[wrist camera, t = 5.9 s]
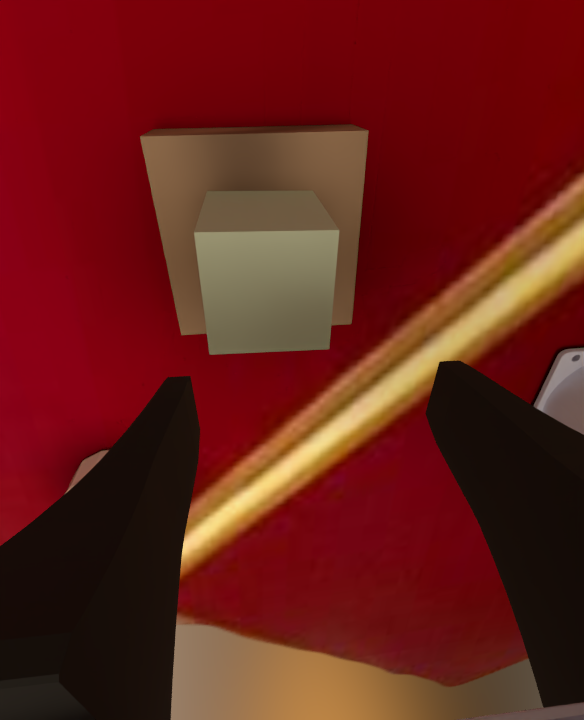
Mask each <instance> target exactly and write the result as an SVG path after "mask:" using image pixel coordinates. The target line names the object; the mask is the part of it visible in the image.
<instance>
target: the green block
mask: <svg viewBox="0 0 584 720" xmlns="http://www.w3.org/2000/svg"><path fill="white" fill-rule="evenodd" d="M194 237H195V245H196V253H197V260H198V268H199V276H200V284H201V292H202V299H203V307H204V315H205V323H206V331H207V339H208V346H209V354H210V355H212V354H234V353H256V352H278V351H300V350H322V349H329V346H330V334H331V322H332V311H333V299H334V287H335V276H336V264H337V253H338V241H339V229H338V227H337V226H336V224H335V223H334V221H333V220H332V218H331V217H330V215H329V214H328V212H327V211H326V209H325V208H324V206H323V205H322V203H321V202H320V200H319V199H318V197H317V196H316V195H315V193H314V192H313V191H207V193H206V196H205V199H204V202H203V206H202V209H201V212H200V215H199V218H198V221H197V224H196V228H195V231H194Z"/></svg>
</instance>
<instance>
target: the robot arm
mask: <svg viewBox="0 0 584 720" xmlns="http://www.w3.org/2000/svg"><path fill="white" fill-rule="evenodd" d="M426 416H427V419H428V422H429V425H430V428H431V430H432V433H433V435H434V438H435V441H436V443H437V445H438V447H439V449H440V451H441V453H442V455H443V457H444V459H445V460H446V462H447V464H448V466H449V468H450V470H451V472H452V473H453V475H454V477H455V479H456V481H457V483H458V485H459V486H460V488H461V490H462V492H463V494H464V496H465V497H466V499H467V501H468V503H469V505H470V507H471V509H472V510H473V513H474V515H475V517H476V519H477V521H478V523H479V525H480V527H481V530H482V532H483V534H484V537H485V539H486V542H487V544H488V546H489V549H490V551H491V554H492V556H493V558H494V561H495V564H496V566H497V569H498V572H499V574H500V577H501V579H502V582H503V585H504V587H505V590H506V592H507V595H508V598H509V601H510V604H511V607H512V609H513V612H514V615H515V618H516V621H517V624H518V627H519V630H520V632H521V635H522V638H523V642H524V645H525V648H526V651H527V654H528V658H529V661H530V664H531V667H532V670H533V673H534V677H535V680H536V683H537V687H538V690H539V693H540V697H541V701H542V704H543V707H544V708H539V709H532V710H524V711H517V712H509V713H503V714H495V715H488V716H480V717H473V718H466V719H459V720H584V348H575V349H565V350H563V351H561V352H560V353H559V354H558V355H557V357H556V359H555V362H554V364H553V366H552V368H551V370H550V372H549V374H548V376H547V378H546V381H545V383H544V385H543V387H542V389H541V391H540V393H539V395H538V397H537V399H536V402H535V404H534V406H532V405H530V404H529V403H527V402H525V401H524V400H522V399H521V398H519V397H517V396H516V395H514V394H513V393H511V392H510V391H508V390H506V389H505V388H503V387H502V386H500V385H499V384H497V383H496V382H494V381H492V380H491V379H489V378H488V377H486V376H485V375H483V374H482V373H480V372H478V371H477V370H475V369H474V368H472V367H470V366H469V365H467V364H465V363H463V362H461V361H444V362H439V366H438V370H437V373H436V377H435V381H434V384H433V388H432V392H431V396H430V399H429V403H428V407H427V410H426ZM199 439H200V426H199V421H198V415H197V410H196V405H195V399H194V394H193V388H192V383H191V378H190V376H183V377H168V378H167V379H166V380H165V381H164V382H163V384H162V385H161V386H160V388H159V389H158V391H157V392H156V393H155V395H154V396H153V397H152V399H151V400H150V401H149V403H148V404H147V405H146V407H145V408H144V409H143V411H142V412H141V413H140V414H139V416H138V417H137V418H136V419H135V421H134V422H133V423H132V424H131V426H130V427H129V428H128V429H127V431H126V432H125V433H124V434H123V435H122V436H121V438H120V439H119V440H118V441H117V442H116V443H115V444H114V445H113V447H112V448H111V449H110V450H109V451H108V452H107V453H106V454H105V455H104V457H103V458H102V459H101V460H100V461H99V462H98V463H97V464H96V465H95V466H94V467H93V468H92V469H91V470H90V471H89V472H88V473H87V474H86V475H85V476H84V477H83V478H82V479H81V480H80V481H79V482H78V483H77V484H76V485H75V486H73V487H72V488H71V489H70V490H69V491H68V492H67V493H66V494H65V495H63V496H62V497H61V498H60V499H59V500H58V501H56V502H55V503H54V504H53V505H52V506H50V507H49V508H48V509H47V510H46V511H44V512H43V513H42V514H41V515H40V516H39V517H37V518H36V519H35V520H34V521H33V522H31V523H30V524H29V525H28V526H26V527H25V528H24V529H22V530H21V531H20V532H18V533H17V534H16V535H15V536H13V537H12V538H11V539H9V540H8V541H7V542H5V543H4V544H3V545H1V546H0V720H170V718H171V698H172V678H173V662H174V646H175V629H176V617H177V604H178V591H179V579H180V568H181V557H182V548H183V541H184V535H185V529H186V524H187V519H188V513H189V508H190V503H191V497H192V492H193V487H194V481H195V476H196V470H197V464H198V455H199Z"/></svg>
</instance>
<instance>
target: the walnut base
mask: <svg viewBox="0 0 584 720" xmlns="http://www.w3.org/2000/svg"><path fill="white" fill-rule="evenodd" d="M140 138H141V143H142V148H143V153H144V158H145V162H146V167H147V172H148V177H149V182H150V186H151V191H152V196H153V201H154V206H155V210H156V215H157V220H158V225H159V230H160V234H161V239H162V244H163V249H164V254H165V258H166V263H167V268H168V273H169V278H170V282H171V287H172V292H173V297H174V302H175V306H176V311H177V316H178V321H179V326H180V330H181V335H191V334H207V331H206V323H205V315H204V307H203V299H202V292H201V284H200V276H199V268H198V260H197V253H196V245H195V237H194V231H195V228H196V224H197V221H198V218H199V215H200V212H201V209H202V206H203V202H204V199H205V196H206V193H207V191H313V192H314V193H315V195H316V196H317V197H318V199H319V200H320V202H321V203H322V205H323V206H324V208H325V209H326V211H327V212H328V214H329V215H330V217H331V218H332V220H333V221H334V223H335V224H336V226H337V227H338V229H339V241H338V253H337V264H336V276H335V287H334V299H333V311H332V322H331V325H343V324H352V313H353V302H354V290H355V279H356V267H357V256H358V244H359V233H360V222H361V210H362V199H363V187H364V176H365V164H366V153H367V142H368V130H365V129H363V128H360V127H357V126H355V125H352V124H349V125H308V126H267V127H227V128H186V129H153V130H152V131H150V132H148V133H146V134H144V135H142V136H140Z"/></svg>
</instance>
